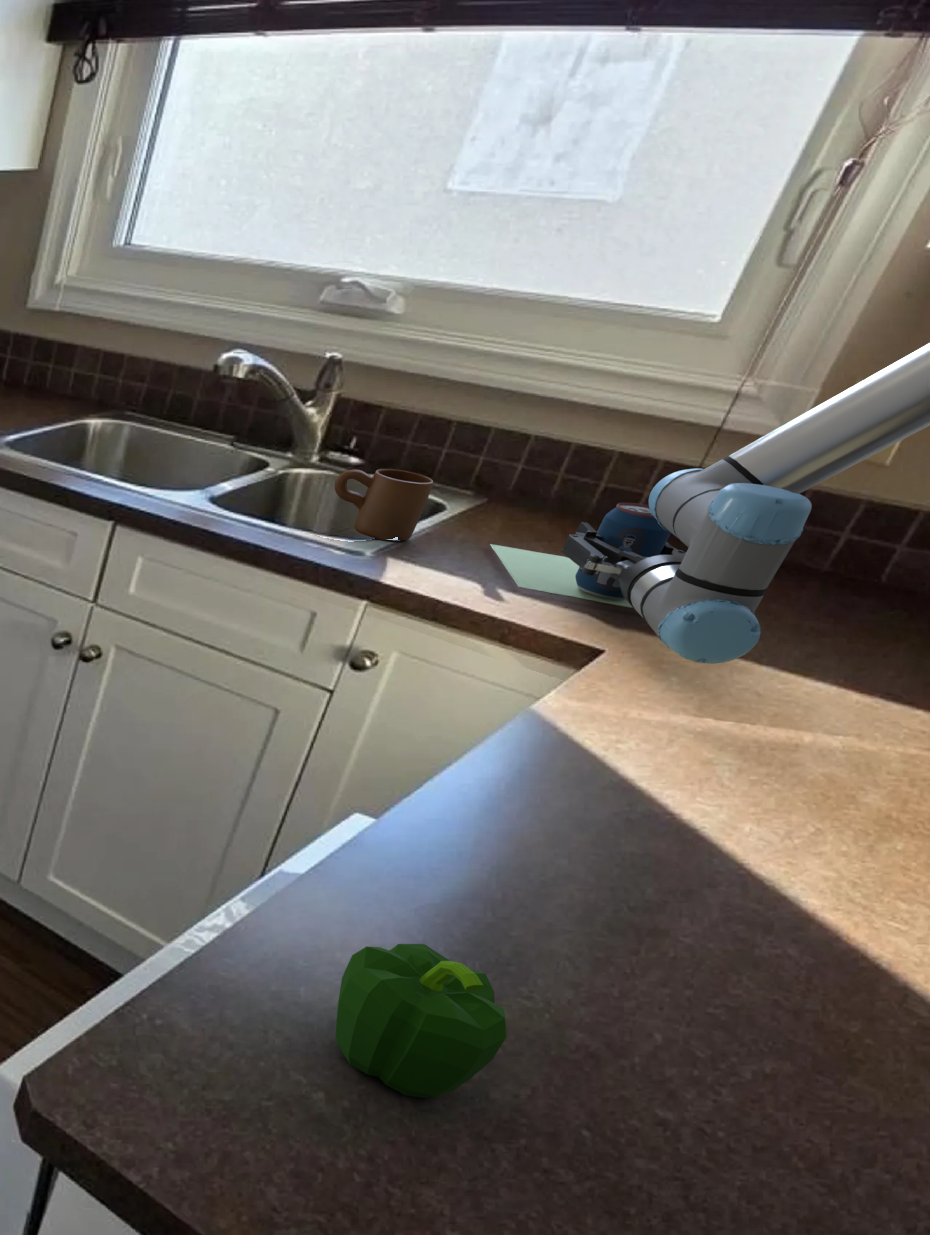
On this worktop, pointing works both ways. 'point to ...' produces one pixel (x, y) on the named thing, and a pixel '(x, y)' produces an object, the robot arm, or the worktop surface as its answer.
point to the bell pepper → (417, 1019)
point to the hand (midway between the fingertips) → (614, 537)
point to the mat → (546, 573)
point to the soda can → (624, 544)
